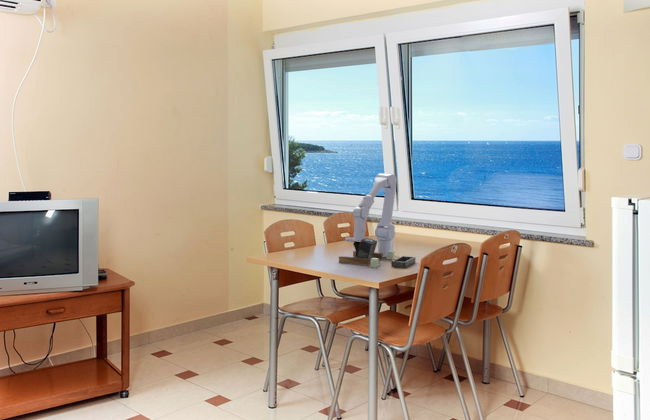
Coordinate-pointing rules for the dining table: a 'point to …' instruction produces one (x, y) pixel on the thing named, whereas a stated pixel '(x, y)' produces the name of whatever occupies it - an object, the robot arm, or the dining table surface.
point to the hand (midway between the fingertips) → (358, 256)
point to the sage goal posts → (376, 260)
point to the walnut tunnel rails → (359, 259)
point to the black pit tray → (403, 262)
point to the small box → (366, 248)
